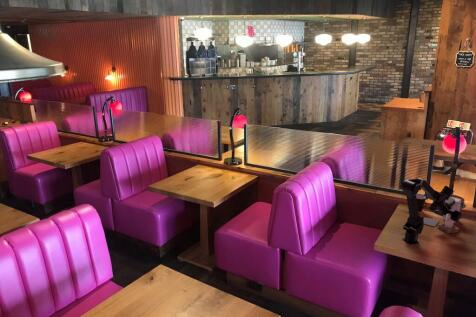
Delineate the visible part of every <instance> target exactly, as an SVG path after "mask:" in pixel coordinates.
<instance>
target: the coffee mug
mask: <svg viewBox="0 0 476 317" xmlns="http://www.w3.org/2000/svg"><path fill="white" fill-rule="evenodd" d="M416 199H417V206H418V213H421V212H423V209H424V208H426V207H427V202H426V199H427V196H425V195H423V194H418V193H417V194H416Z"/></svg>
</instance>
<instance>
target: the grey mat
mask: <svg viewBox="0 0 476 317" xmlns="http://www.w3.org/2000/svg"><path fill="white" fill-rule="evenodd" d="M423 218H424V226H428V227H432V228H436V226H438V224H440V220H439V219H434V218H431V217H427V216H424V217H423Z"/></svg>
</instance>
